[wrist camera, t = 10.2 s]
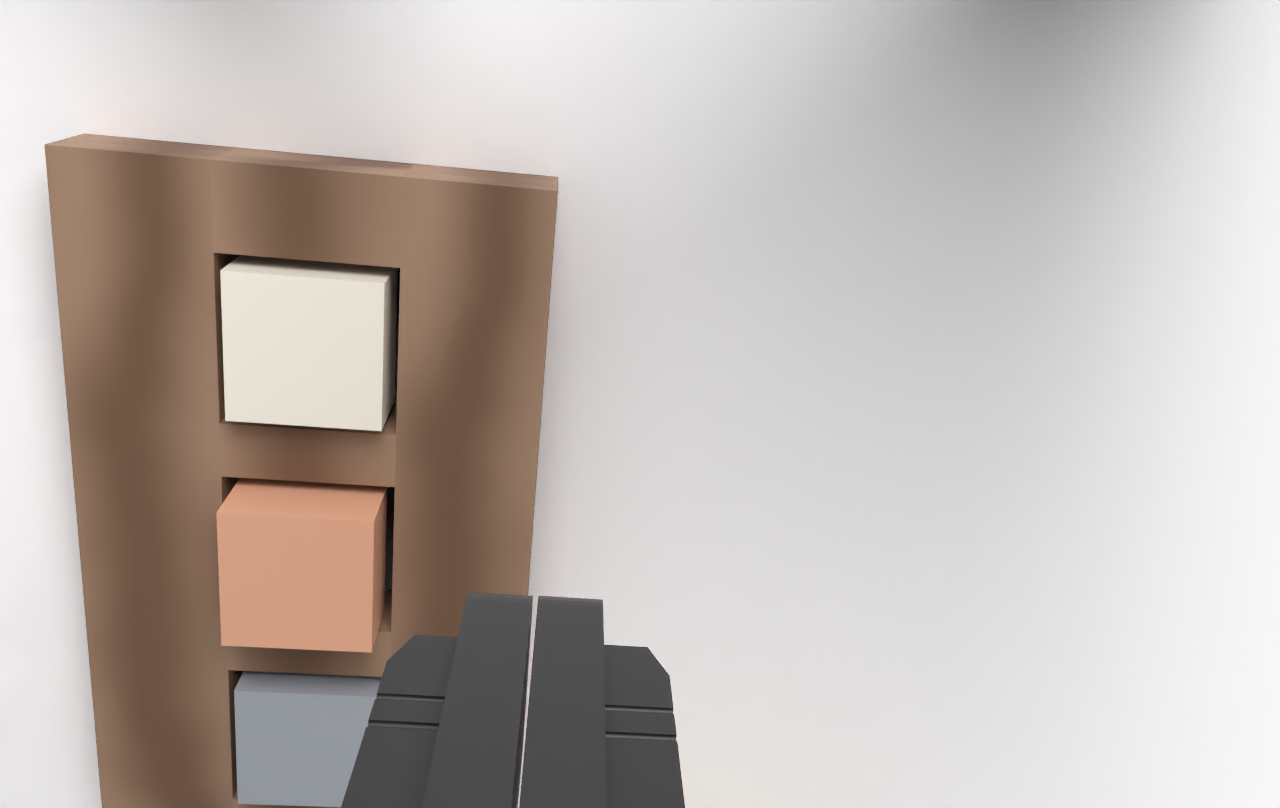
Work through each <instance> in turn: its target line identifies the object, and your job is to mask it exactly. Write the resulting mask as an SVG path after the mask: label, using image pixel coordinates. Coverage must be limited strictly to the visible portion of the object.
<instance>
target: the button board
mask: <svg viewBox="0 0 1280 808" xmlns="http://www.w3.org/2000/svg"><path fill="white" fill-rule="evenodd" d="M45 154H46V166H47V178H48V189H49V201H50V212H51V224H52V235H53V247H54V258H55V270H56V281H57V293H58V304H59V316H60V327H61V339H62V350H63V362H64V374H65V385H66V397H67V408H68V420H69V431H70V443H71V454H72V466H73V477H74V489H75V500H76V512H77V523H78V535H79V546H80V558H81V570H82V581H83V593H84V604H85V616H86V627H87V639H88V650H89V662H90V673H91V685H92V696H93V708H94V719H95V731H96V743H97V754H98V766H99V777H100V789H101V800H102V808H341V807H319V806H288V805H257V804H238V794H237V764H236V734H235V704H234V690H235V688H236V686H237V684H238V682H239V679H240V677H241V675H242V673H243V671H258V672H280V673H303V674H325V675H348V676H370V677H382V675H383V672H384V668H385V665H386V662H387V660H388V659H389V658H391V657H392V656H393V655H394V654H395V653H396V652H397V651H398V650H399V649H400V648H401V647H402V646H403V645H404V644H405V643H407V642H408V641H409V640H410V639H411V638H412V637H413V636H414V635H432V636H450V637H458V634H459V629H460V625H461V620H462V615H463V610H464V606H465V601H466V597H467V593H468V592H476V593H493V594H510V595H527V596H528V585H529V571H530V558H531V544H532V531H533V518H534V504H535V491H536V477H537V464H538V450H539V437H540V423H541V410H542V396H543V383H544V369H545V356H546V342H547V329H548V315H549V302H550V288H551V275H552V261H553V248H554V234H555V221H556V207H557V194H558V177H551V176H540V175H529V174H518V173H507V172H496V171H485V170H475V169H464V168H453V167H442V166H431V165H420V164H409V163H398V162H387V161H376V160H365V159H354V158H343V157H332V156H321V155H310V154H300V153H289V152H278V151H267V150H256V149H245V148H234V147H223V146H212V145H201V144H190V143H179V142H168V141H157V140H146V139H136V138H125V137H114V136H103V135H92V134H82V135H78V136H75V137H71V138H67V139H64V140H60V141H56V142H52V143H49V144H45ZM240 255H248V256H260V257H272V258H285V259H297V260H309V261H321V262H334V263H346V264H358V265H370V266H382V267H395V268H400V295H399V335H398V375H397V405H392V408H391V410H390V412H389V415H388V417H387V420H386V422H385V424H384V427H383V429H382V431H370V430H355V429H340V428H325V427H310V426H295V425H280V424H265V423H250V422H235V421H225V398H224V368H223V338H222V308H221V278H220V270H222V269H223V268H224V267H225V266H227V265H228V264H229V263H231V262H232V261H233V260H234V259H236V258H237V257H238V256H240ZM240 478H254V479H270V480H286V481H303V482H319V483H335V484H351V485H367V486H383V487H395V496H394V536H393V576H392V591H385V609H384V612H383V616H382V619H381V622H380V626H379V629H378V633H377V636H376V639H375V643H374V646H373V650H372V653H369V652H348V651H326V650H305V649H283V648H262V647H240V646H221V622H220V596H219V569H218V542H217V516H216V512H217V511H218V509H219V508H220V507H221V505H222V504H223V502H224V501H225V499H226V498H227V496H228V495H229V493H230V492H231V490H232V489H233V487H234V486H235V484H236V483H237V482H238V480H239V479H240Z"/></svg>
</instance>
